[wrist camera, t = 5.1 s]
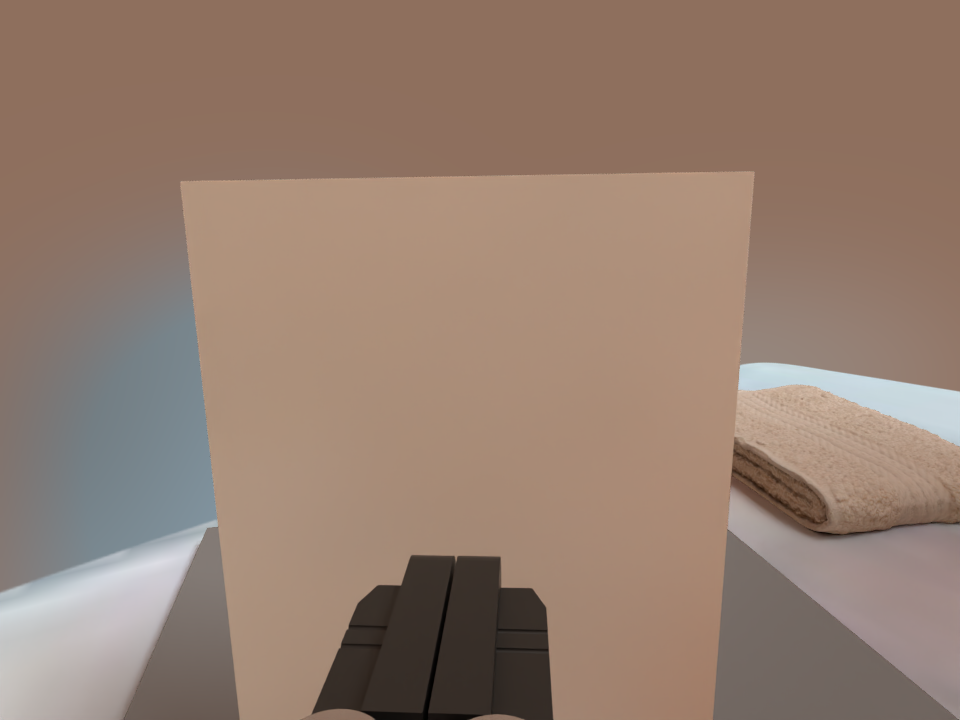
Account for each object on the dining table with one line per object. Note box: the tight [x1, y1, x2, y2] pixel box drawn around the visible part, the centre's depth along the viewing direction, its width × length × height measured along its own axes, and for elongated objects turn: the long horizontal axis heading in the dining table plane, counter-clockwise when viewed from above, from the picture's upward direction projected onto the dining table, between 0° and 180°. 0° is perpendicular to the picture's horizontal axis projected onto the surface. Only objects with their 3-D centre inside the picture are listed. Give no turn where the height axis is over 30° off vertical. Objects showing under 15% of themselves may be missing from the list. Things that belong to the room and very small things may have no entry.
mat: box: [124, 527, 959, 720], centre depth 22 cm, size 22×18×1 cm
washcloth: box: [731, 385, 960, 534], centre depth 38 cm, size 12×18×3 cm, turn 11°
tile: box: [180, 171, 754, 720], centre depth 14 cm, size 10×2×14 cm, turn 86°
